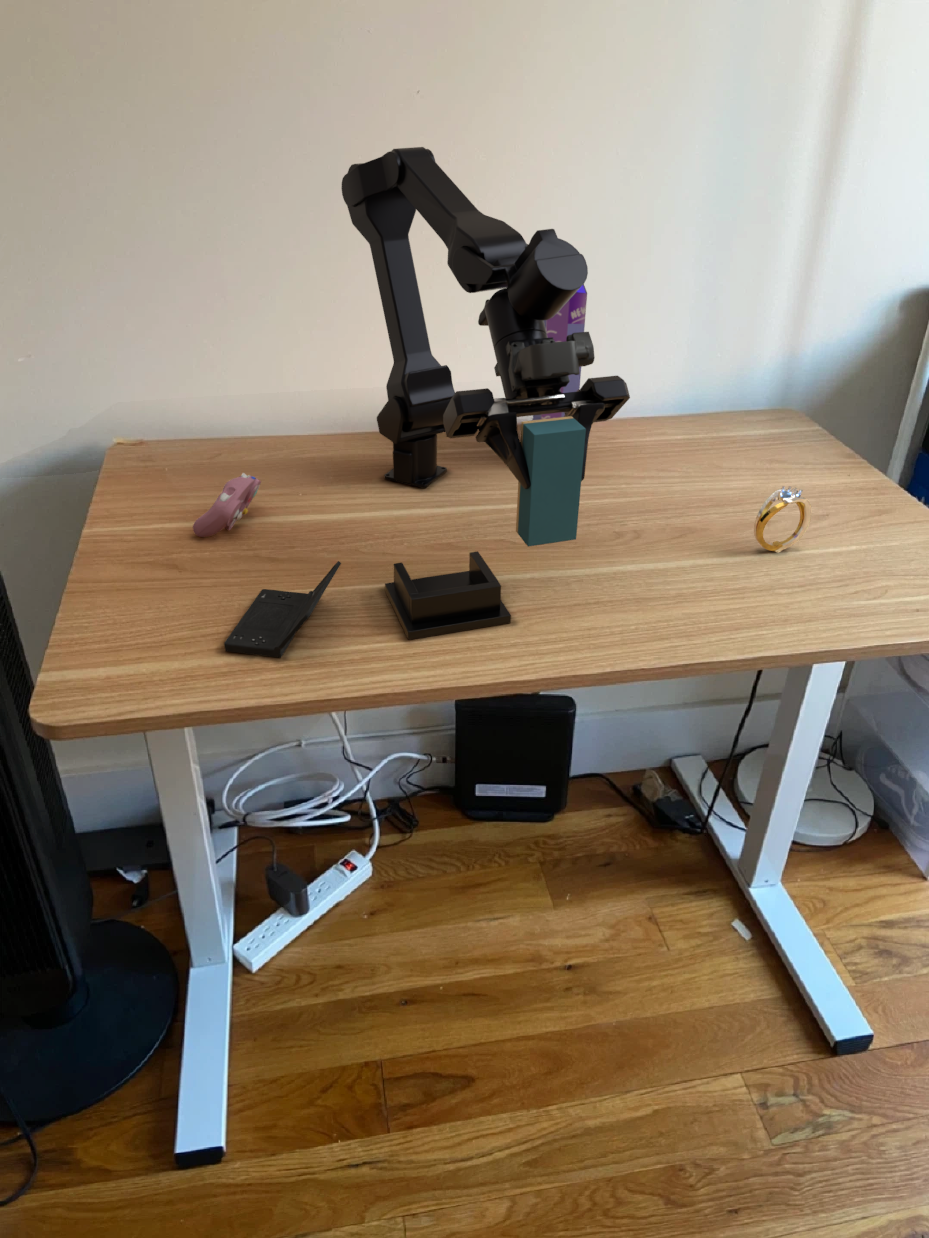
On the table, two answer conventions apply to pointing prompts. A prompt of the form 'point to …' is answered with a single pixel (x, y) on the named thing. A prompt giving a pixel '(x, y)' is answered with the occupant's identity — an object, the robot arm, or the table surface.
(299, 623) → the handheld gaming console
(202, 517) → the video game controller
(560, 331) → the cereal box
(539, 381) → the robot arm
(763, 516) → the ring
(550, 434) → the teal rectangular block
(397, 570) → the black square holder
